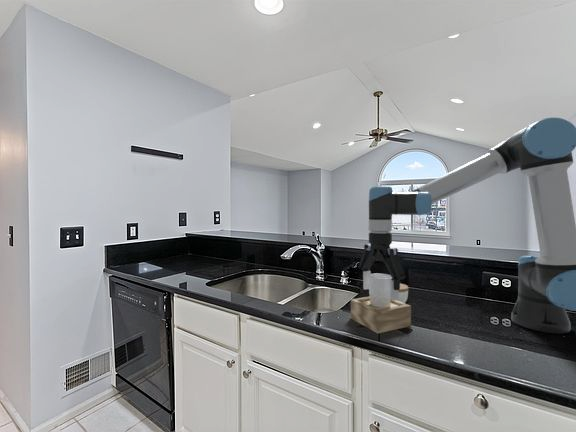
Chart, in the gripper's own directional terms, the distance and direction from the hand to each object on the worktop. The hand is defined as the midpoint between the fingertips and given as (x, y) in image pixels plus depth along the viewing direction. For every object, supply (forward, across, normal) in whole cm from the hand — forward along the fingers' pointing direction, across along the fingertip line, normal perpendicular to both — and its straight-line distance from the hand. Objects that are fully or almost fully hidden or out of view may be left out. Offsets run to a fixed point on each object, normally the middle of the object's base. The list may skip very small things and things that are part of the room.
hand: (379, 294), depth 102 cm
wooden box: (+10, 0, 0) cm, 10 cm away
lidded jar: (+10, +12, -18) cm, 24 cm away
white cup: (+4, 0, 0) cm, 4 cm away
